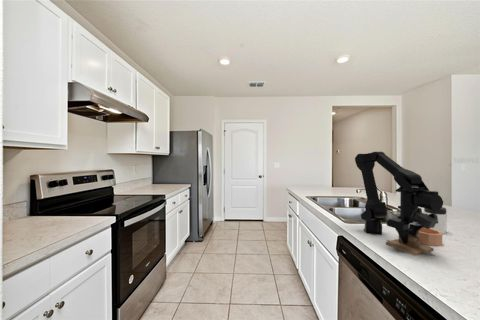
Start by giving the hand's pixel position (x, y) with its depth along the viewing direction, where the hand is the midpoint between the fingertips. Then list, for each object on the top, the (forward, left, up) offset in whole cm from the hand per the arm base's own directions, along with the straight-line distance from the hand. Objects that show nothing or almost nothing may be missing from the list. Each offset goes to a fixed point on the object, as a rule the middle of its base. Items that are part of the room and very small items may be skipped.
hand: (408, 242), depth 86 cm
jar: (+21, +28, -2) cm, 35 cm away
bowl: (+10, +10, -2) cm, 14 cm away
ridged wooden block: (0, 0, -2) cm, 2 cm away
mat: (0, 0, -2) cm, 2 cm away
